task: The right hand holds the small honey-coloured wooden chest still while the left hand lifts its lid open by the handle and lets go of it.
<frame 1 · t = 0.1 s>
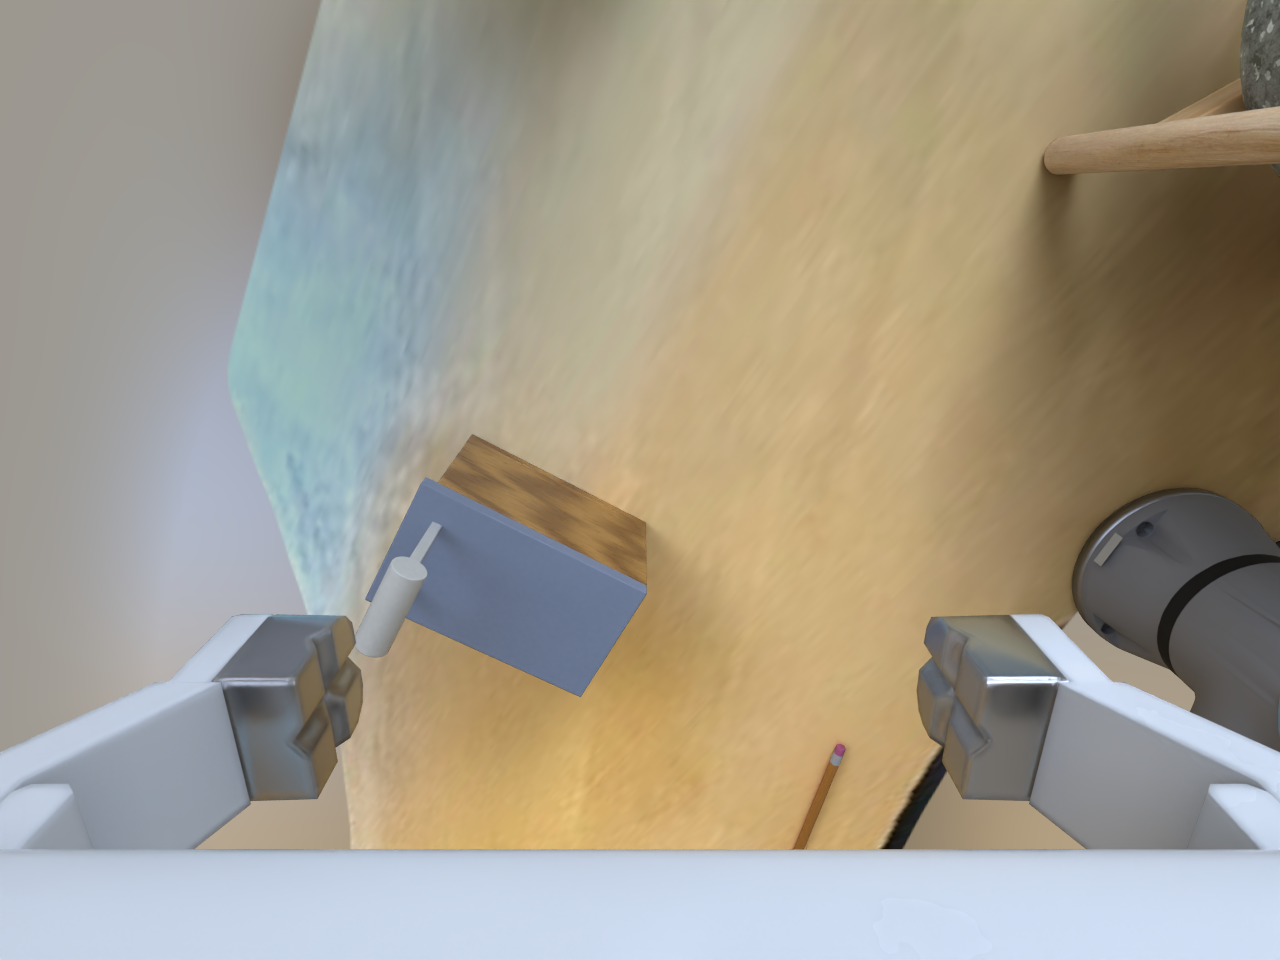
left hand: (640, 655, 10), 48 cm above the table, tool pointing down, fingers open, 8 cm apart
planter: (1261, 43, 49), on the table
chest: (534, 527, 62), on the table
pencil: (809, 815, 74), on the table
lid: (497, 621, 48), point 15 cm above the table, hinge at 0.0°
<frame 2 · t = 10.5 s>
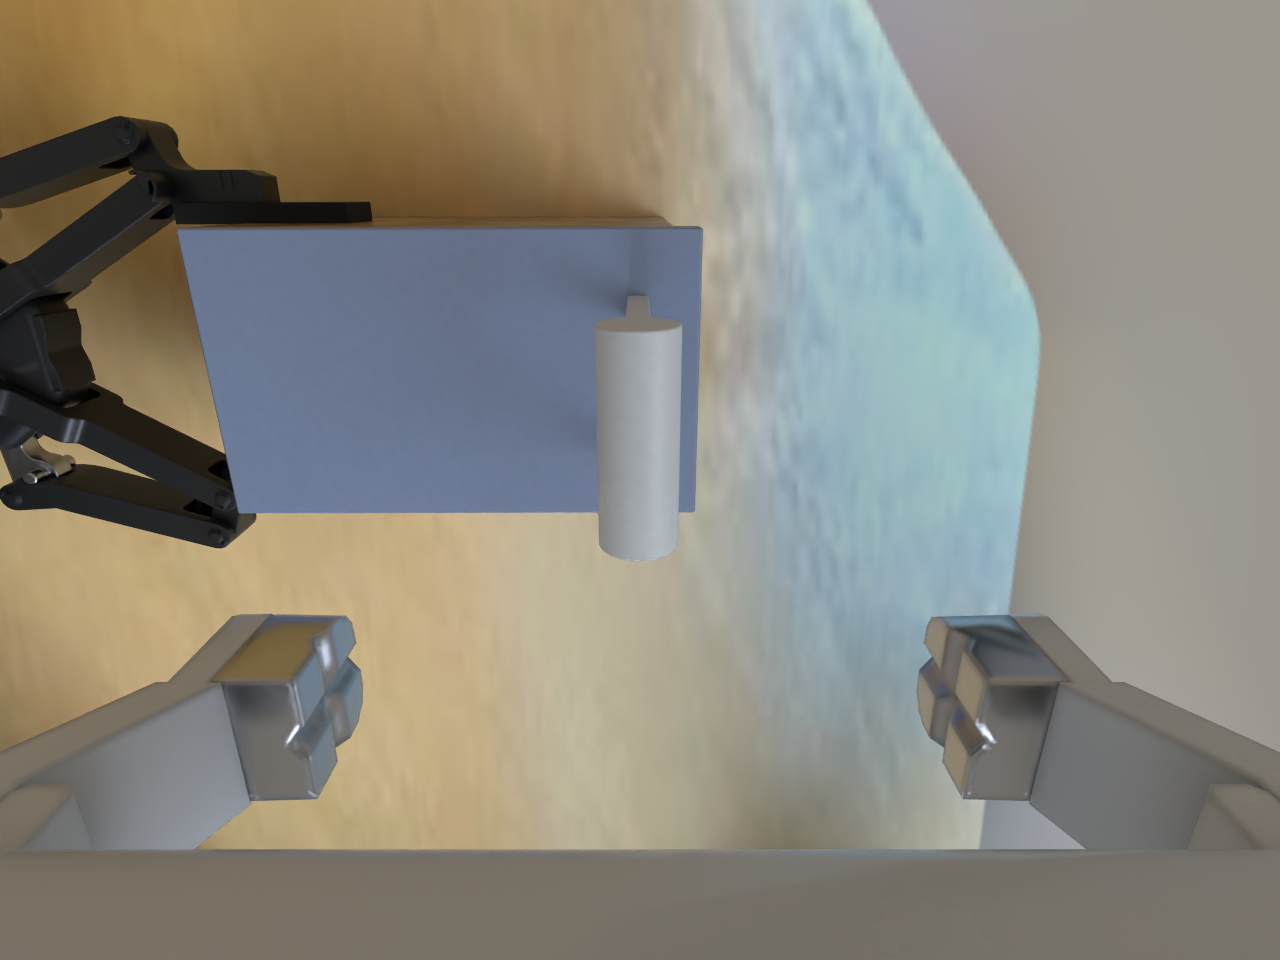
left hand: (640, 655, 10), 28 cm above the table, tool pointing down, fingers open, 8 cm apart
right hand: (377, 348, 31), fingers closed on chest, 10 cm apart
chest: (501, 324, 37), on the table, touching right hand
lid: (429, 406, 22), point 15 cm above the table, hinge at 0.0°
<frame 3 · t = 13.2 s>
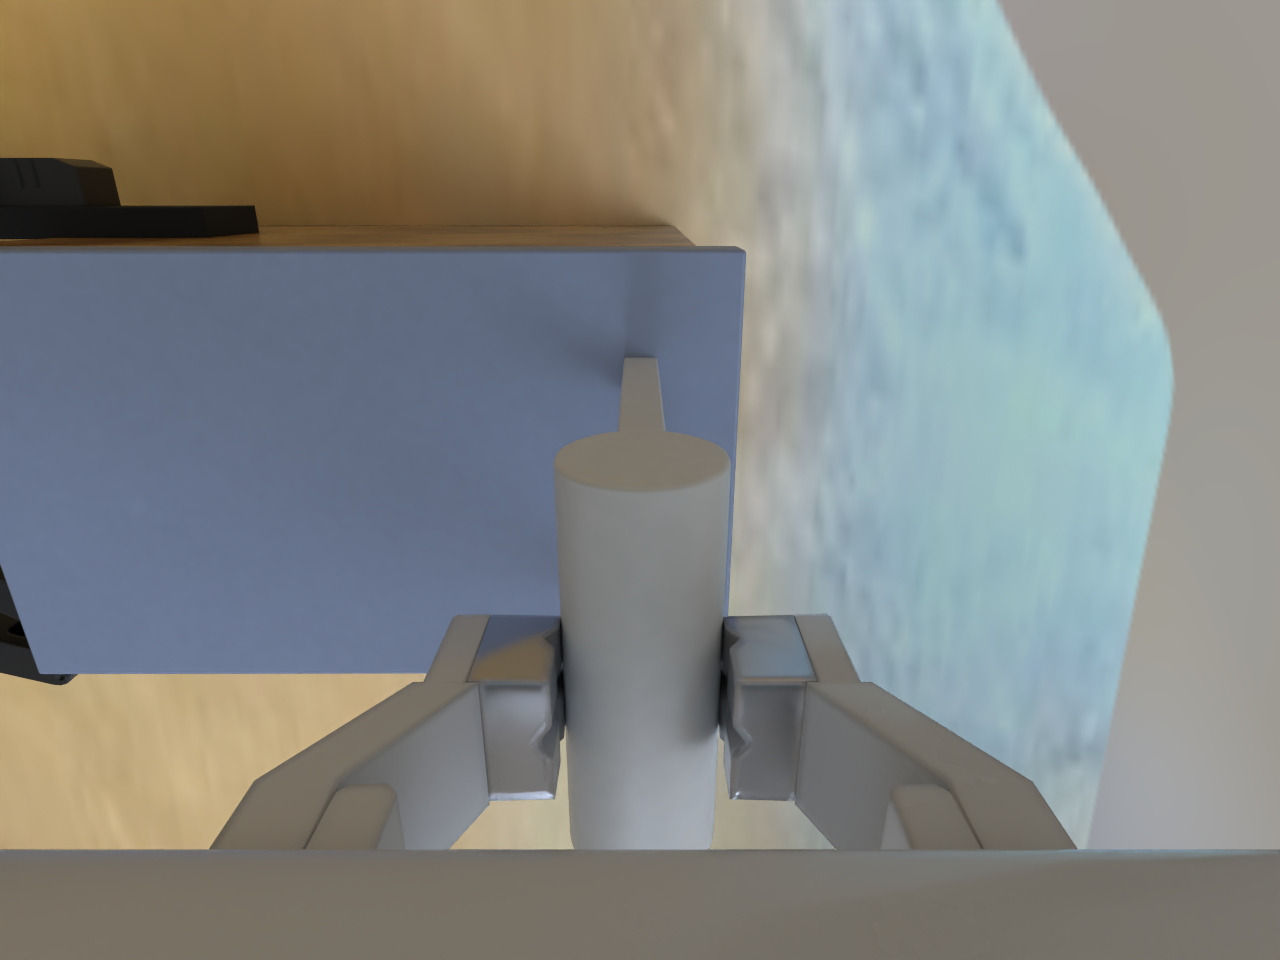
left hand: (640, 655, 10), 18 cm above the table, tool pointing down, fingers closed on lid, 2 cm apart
chest: (457, 367, 27), on the table, touching right hand
lid: (288, 552, 13), point 15 cm above the table, hinge at 0.0°, touching left hand
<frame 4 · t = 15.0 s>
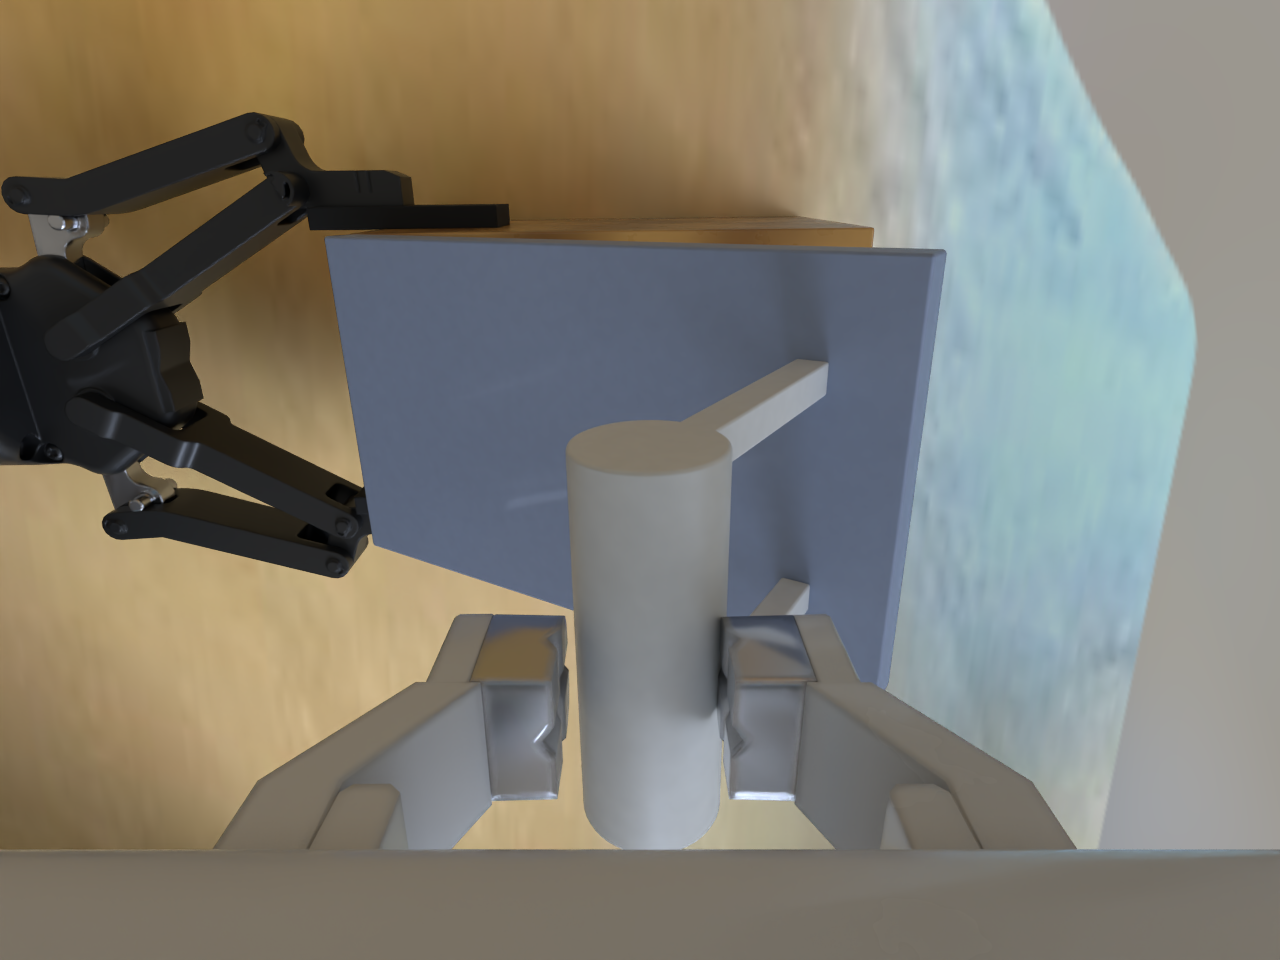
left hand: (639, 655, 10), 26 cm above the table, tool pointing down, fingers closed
right hand: (514, 362, 28), fingers closed on chest, 10 cm apart
chest: (622, 333, 34), on the table, touching right hand
lid: (480, 485, 17), point 19 cm above the table, hinge at 31.3°, touching left hand
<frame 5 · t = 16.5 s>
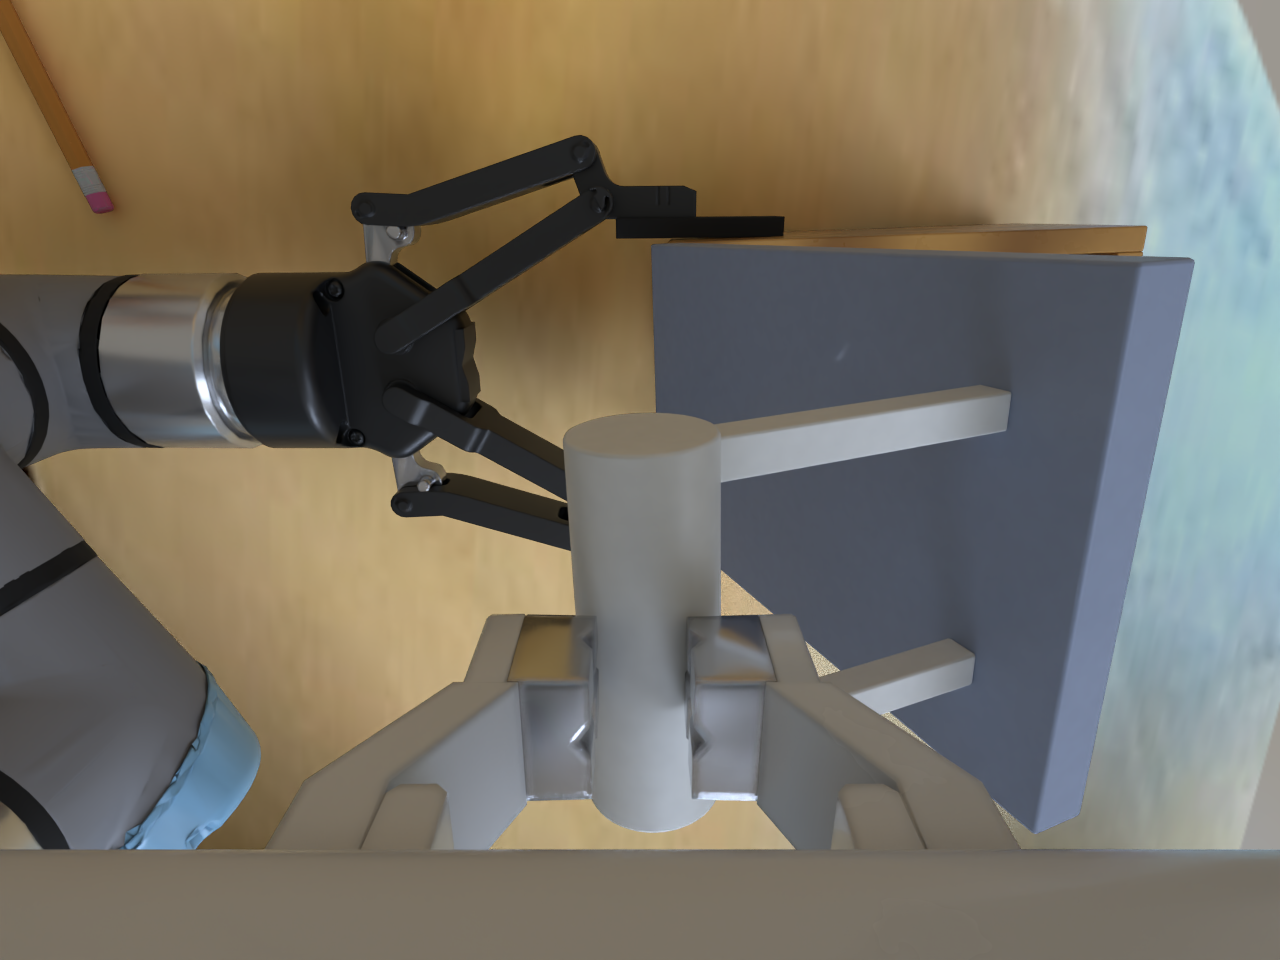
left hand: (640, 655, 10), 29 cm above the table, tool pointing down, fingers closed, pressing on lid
right hand: (771, 360, 31), fingers closed on chest, 10 cm apart
chest: (835, 335, 37), on the table, touching right hand
lid: (671, 470, 18), point 21 cm above the table, hinge at 64.0°, touching left hand
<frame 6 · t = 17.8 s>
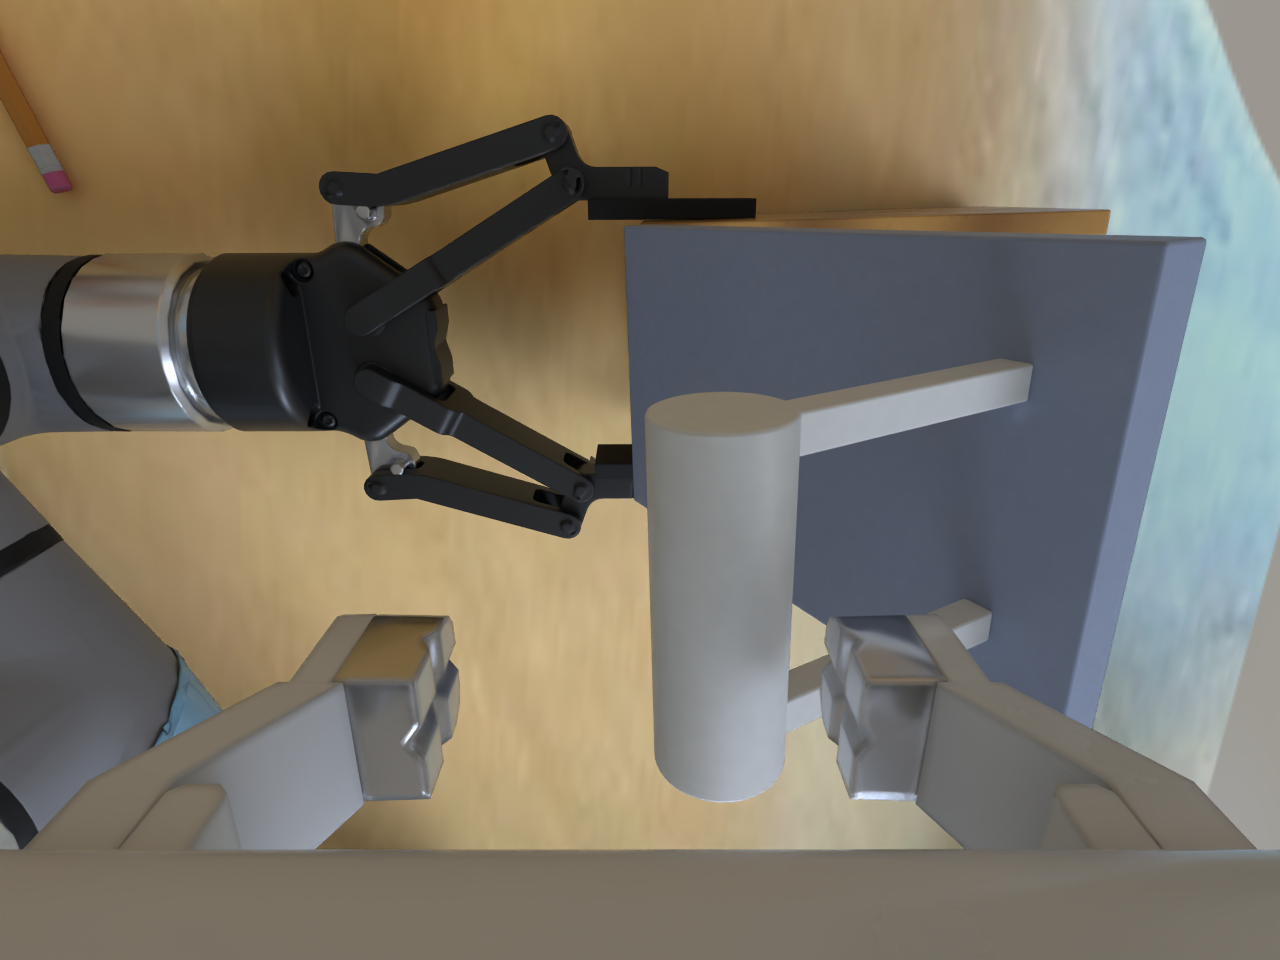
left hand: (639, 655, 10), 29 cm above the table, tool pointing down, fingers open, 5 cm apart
right hand: (744, 342, 32), fingers closed on chest, 10 cm apart
chest: (808, 317, 37), on the table, touching right hand
lid: (679, 450, 18), point 21 cm above the table, hinge at 58.5°
when the right hand's fingers open (6 cm above the table, at t = 20.9 s): chest stays where it is, on the table.
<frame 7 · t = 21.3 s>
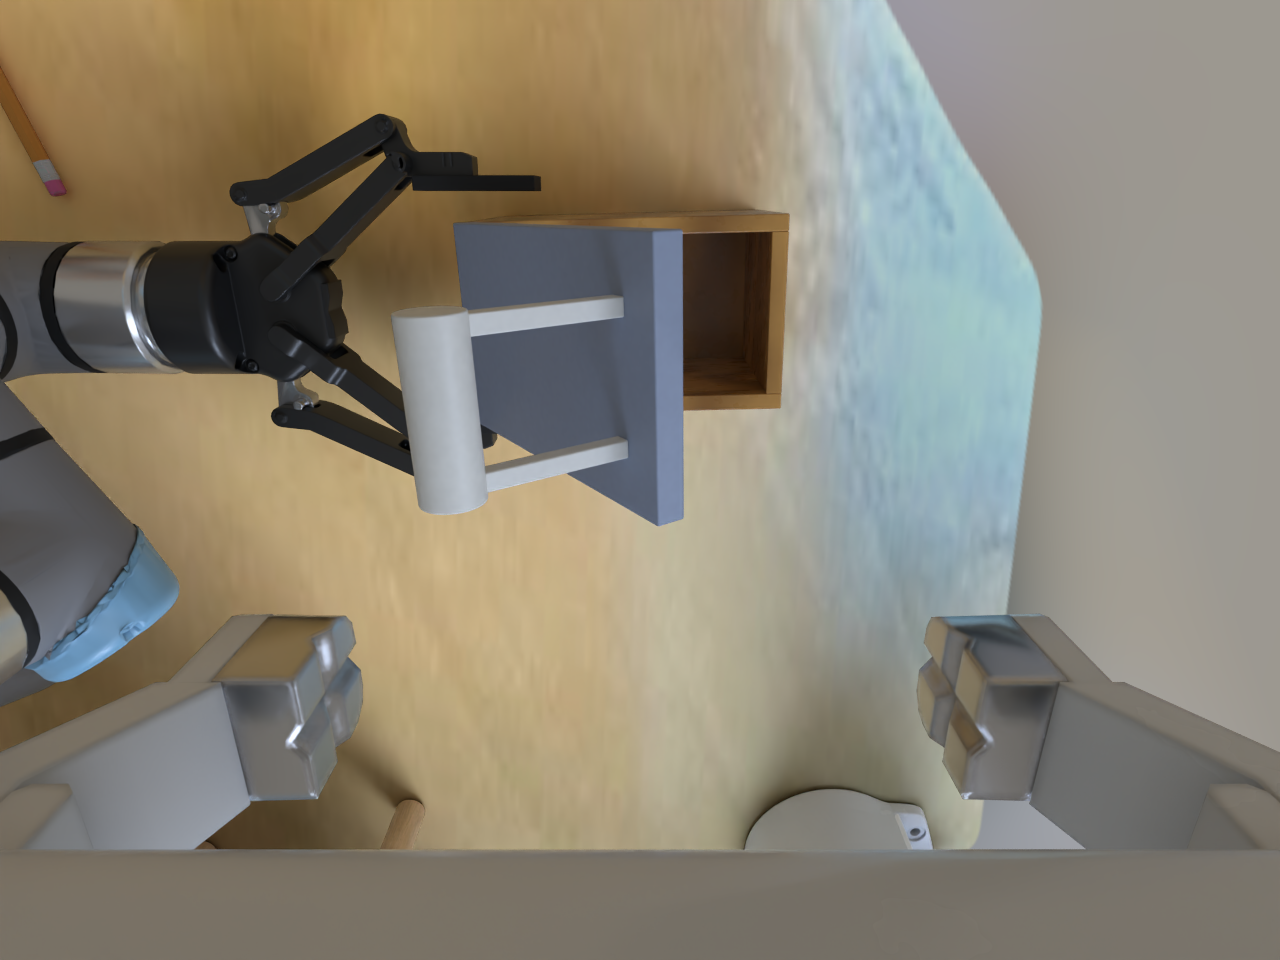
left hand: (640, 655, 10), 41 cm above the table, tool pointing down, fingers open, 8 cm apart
right hand: (544, 309, 43), fingers open, 13 cm apart
planter: (349, 906, 69), on the table
chest: (632, 293, 48), on the table
lid: (466, 362, 29), point 21 cm above the table, hinge at 55.8°
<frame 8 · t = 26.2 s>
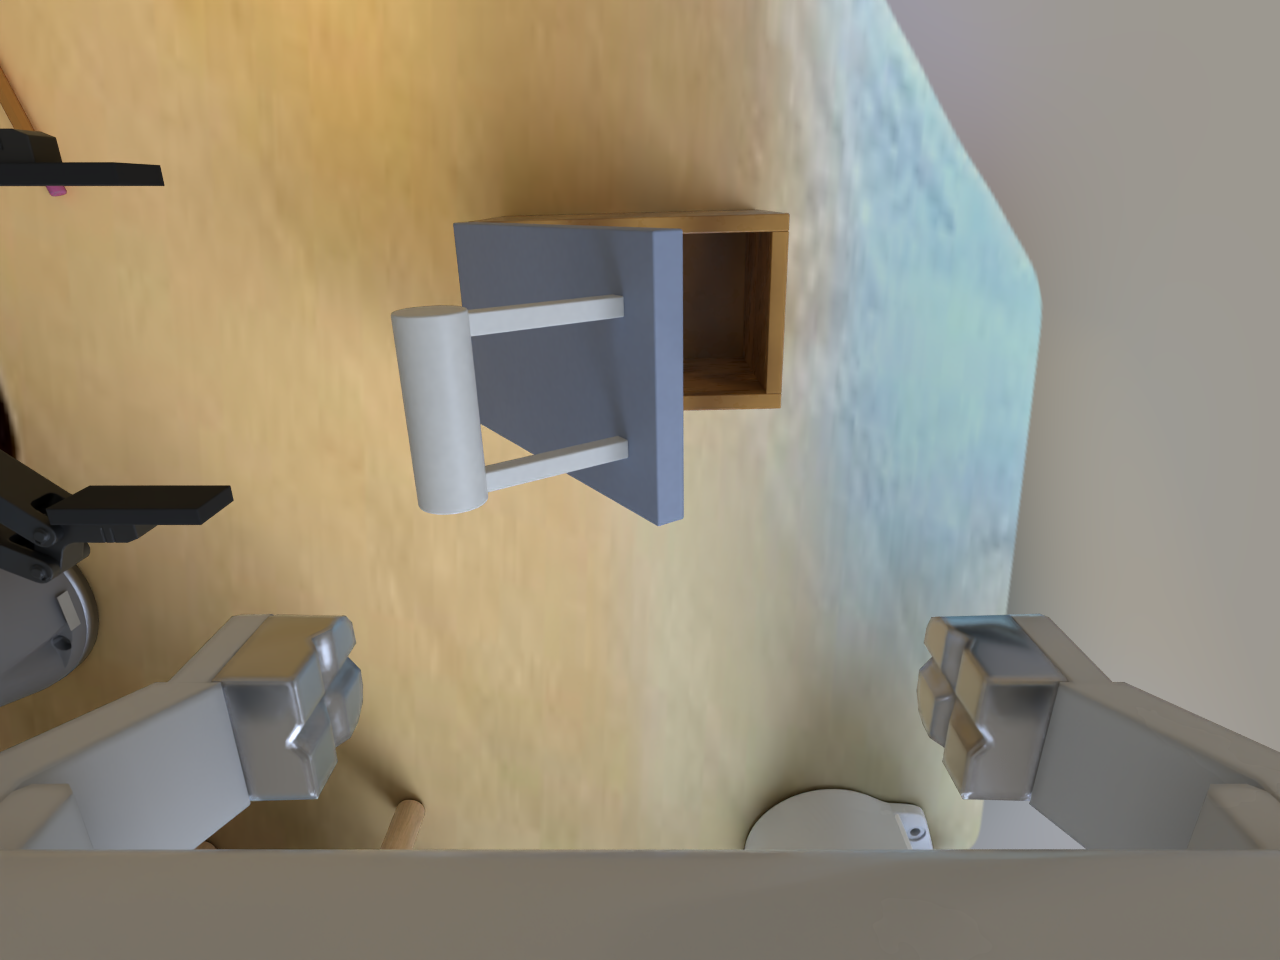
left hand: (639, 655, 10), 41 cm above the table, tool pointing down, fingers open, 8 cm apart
right hand: (182, 353, 30), fingers open, 13 cm apart
planter: (349, 906, 69), on the table
chest: (632, 293, 48), on the table
lid: (466, 362, 29), point 21 cm above the table, hinge at 55.8°
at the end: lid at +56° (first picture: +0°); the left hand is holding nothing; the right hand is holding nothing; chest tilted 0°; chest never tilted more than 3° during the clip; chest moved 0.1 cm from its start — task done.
